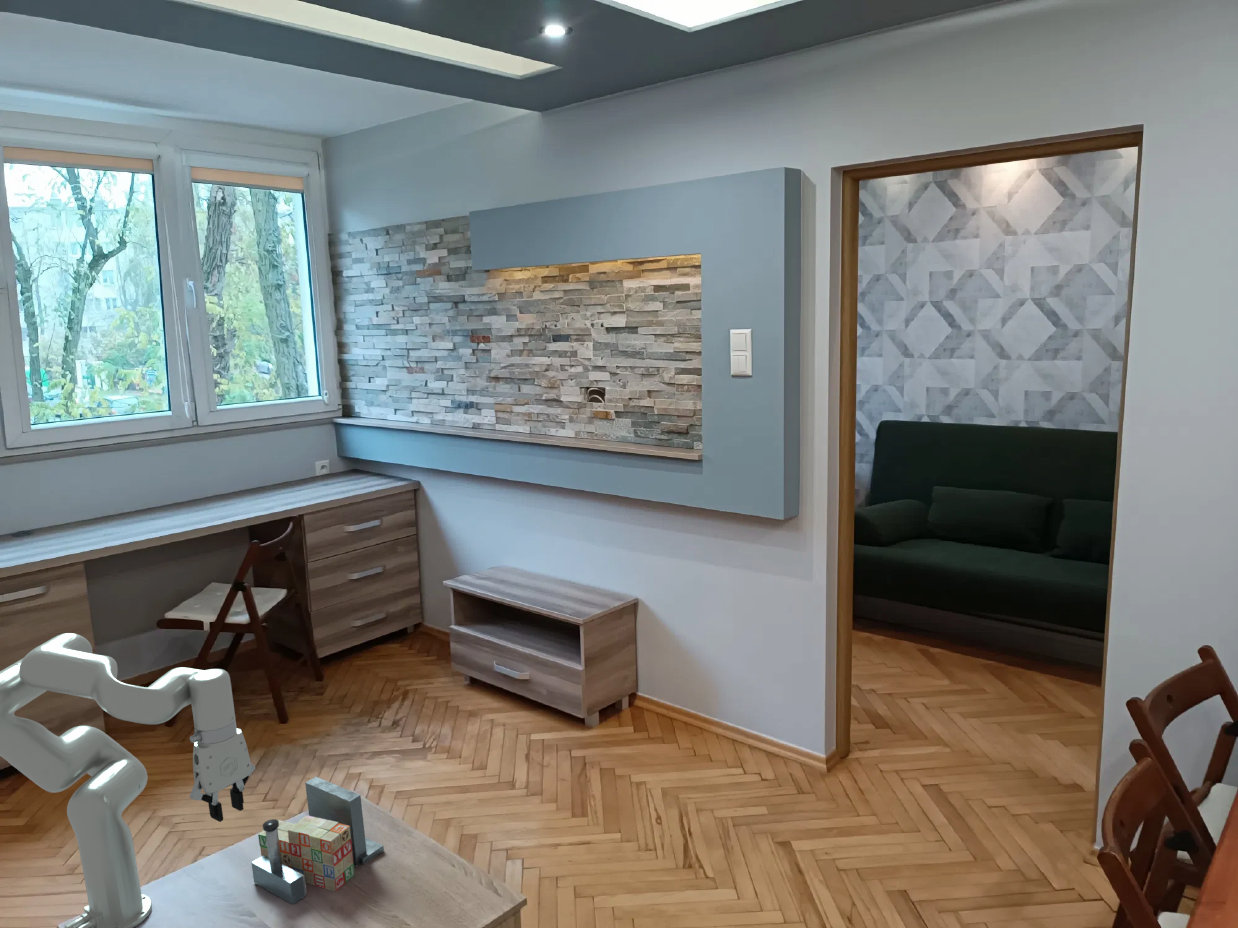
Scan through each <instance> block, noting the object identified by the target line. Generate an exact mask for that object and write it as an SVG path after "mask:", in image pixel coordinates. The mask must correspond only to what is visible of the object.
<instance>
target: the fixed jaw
mask: <svg viewBox="0 0 1238 928" xmlns="http://www.w3.org/2000/svg"><path fill="white" fill-rule="evenodd" d="M304 784H305V791H306V800H307V808H308V816H312V817H316V818H321V819H326V820H331V821H335V822H338V823H340V824H344V825H348V826H350V834H351V842H352V855H353V864H354V867H355V866H356V867H358V866H359V865H361V866H364V865H366V864H367V863H369V862H370V861H372V860H373V859H375V858H377V857H378V856H379V855H380V854H383V853H384V852H385V849H384V847H385V846H384V845H383V844H381V843H379V842H377V841H375V840H373V839H370V838H368V837H366V835H365V834H366V833H365V824H364V823H365V822H364V816H363V815H364V814H363V807H362V806H363V805H362V798H361V794H359V793H356V792H354V791H352V790H349V789H346V788H345V787H342V786H340V785H337V784H335V783H332V782H330V781H328V780H326V779H322V778H321V777H318V776H314V777H313V778H311V779H309V780H307V781H306V782H304Z"/></svg>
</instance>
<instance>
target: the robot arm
mask: <svg viewBox="0 0 1238 928" xmlns="http://www.w3.org/2000/svg"><path fill="white" fill-rule="evenodd" d="M230 676H231V675H230V674H229V672H228V671H226V670H225V669H222V668H210V669H205V670H204V669H198V668H193V667H192V668H191V667H182V666H181V667H179V666H178V667H175V668H172V669H170V670H169V671H167V672H166V673H164V674H163V675H162V676H159V678H158V679H157V680H155V681H154V682H153V683H151V684H150V685H149V686H148V687H147V686H145V687H144V686H140V685H134V684H128V683H126V682H125V683H124V682H122V681H120V680H118V679H117V678H118V663H117V662H116V659H114V658H113V657H111V656H109V655H101V654H98V653H93V647H92V644H91V642H90V641H89V640H88V639H87V638H86V637H84V636H82V635H81V634H77V633H72V632H66V633H61V634H58V635H56V636H54V637H52V638H51V639H49V640H47V641H46V642H43V643H42V644H40V645H38V646H36V647H35V648H33V649H32V650H31V651H29V652H28V653H27V654H25V656H24V657H23V658H21V659H19V660H18V661H15V662H14V663H13V664H11V665H9V666H7V667H6V668H3V669H2V670H0V757H1V758H3V759H4V760H5V761H7V762H8V763H9V764H10V765H11V766H12V767H14V768H15V769H17V771H18V772H20V773H22V775H24V776H25V777H26V778H27V779H29V780H30V781H32V782H33V783H34V784H35V785H37V786H38V787H40V788H41V789H43V790H44V791H46V792H48V793H52V794H53V793H60V792H63V791H65V790H67V789H69V788H70V787H72V786H73V785H74V784H75V783H76V782H78V781H79V780H80V779H81V778H82V777H84V776H85V775H86V774H87V775H88V776H90V777H89V778H88V779H87V780H86V781H84V783H82V784H81V785H80V786H79V787H78V788H77V789H76V790H75V792H74V793H72V796H71V797H70V799H69V800H68V803H67V807H66V814H67V819H68V821H69V824H70V826H71V827H72V831H73V832H74V835H75V838H76V843H77V846H78V851H79V857H80V861H81V866H82V873H83V878H84V884H85V891H86V896H87V903H88V905H86V906H84V907H83V911H84V913H82V914H80V917H78V918H77V919H75V920H72V921H70V922H68V923H66V924H65V925H64V928H135V927H137V926H138V925H140V924H141V923H143V921H145V920H146V919H147V918H148V916H149V915H150V913H151V911H152V908H153V906H152V900H151V898H150V897H149V896H148V895H145V894H142V889H141V883H140V876H139V871H138V870H139V869H138V864H137V857H136V852H135V846H134V845H135V844H134V841H133V835H132V834H133V833H132V830H131V828H130V826H129V825H128V824H127V823H126V822H125V820H124V818H123V817H122V816H123V812H124V810H125V809H127V807H128V806H130V804H131V803H132V802H133V801H135V800H136V798H138V796H139V795H141V793H142V792H143V791H144V789H145V788H146V787H147V783H148V779H149V778H148V772H147V769H146V767H145V766H144V764H143V763H142V762H141V761H140V760H139V759H138V758H137V757H136V756H134V755H133V754H132V753H131V752H130V751H128V750H127V749H126V748H125V747H123V745H121V744H120V743H118V742H117V741H115V739H113V738H112V737H111V736H109V735H108V734H106V732H104V731H102V730H101V729H99V728H97V727H93V726H90V725H79V726H73V727H72V728H69V729H68V730H66V731H64V732H63V733H62V734H61V735H59V736H58V735H56V734H54V733H53V732H52V731H50V730H49V729H48V728H47V727H45V726H44V725H43V724H41V723H39V722H37V721H35V720H33V719H30V718H26V717H21V716H17V715H15V712H16V711H18V710H20V709H21V708H23V707H24V706H26V705H27V704H29V703H30V702H32V701H33V700H35V699H37V698H38V697H39V696H41V695H42V694H44V693H46V692H47V691H49V692H53V693H59V694H66V695H71V696H75V697H80V698H81V697H82V698H86V699H91V700H94V701H95V702H96V704H98V706H99V707H100V708H101V709H102V710H103V711H105V712H106V713H107V714H108V715H110V716H111V717H114V718H116V719H118V720H122V721H127V722H132V723H136V724H142V725H143V724H144V725H160V724H164V723H166V722H168V721H169V720H171V719H172V718H173V717H175V716H176V715H177V714H178V713H179V712H180V711H181V710H182V709H183V708H186V707H187V706H189V705H191V710H192V716H193V723H194V724H193V726H194V729H193V731H194V734H193V735H190V736H189V741H190V742H191V743H192V744H193V752H192V769H193V770H192V774H193V780H194V784H193V787H192V789H191V791H190V794H189V799H191V800H193V801H201V802H202V801H203V802H205V803H208V810H209V811H208V812H209V816H210V818H211V819H214V820H215V821H218V822H219V823H221V822H223V821H224V814H223V807H222V802H221V801H219V792H220V791H222V790H224V789H225V788H228V787H229V786H231V788H230V790H229V794H230V802H231V807H232V808H234V809H235V810H237V811H239V812H241V811H243V810H244V803H245V801H244V795H243V794H244V793H243V791H245V788H246V787H245V786H246V783H247V782H248V780H249V778H250V776H251V775H252V774H253V772H254V771H255V770H256V766H255V765H254V764H253V763H252V762H251V759H250V758H251V757H250V754H249V750H248V749H249V748H248V745H247V742H246V739H245V736H244V734H243V731H242V729H241V728H237V722H236V721H237V720H236V713H235V712H236V711H235V706H234V697H233V691H232V690H233V689H232V682H231V677H230ZM202 790H203V792H202Z"/></svg>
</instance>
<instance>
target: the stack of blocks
mask: <svg viewBox="0 0 1238 928" xmlns="http://www.w3.org/2000/svg"><path fill="white" fill-rule="evenodd" d="M277 820H278V821H279V827H278V828H277V829H278V837H279V845H280V853H281V860H282V864H283V865H285V866H287V867H289V868H291V869H293V870H295V871H297V872H299V873H301V874H303V875H304V876H305V883H307V884H309V885H314V886H316V887H319V888H322V889H327V890H329V891H332V892H337V891H338V890H340V889H341V888H342V887H343V886H344V885H345V884H346V883H347V882H348V881H349V880H351V879H352V878H353V877H354V876H355V865H354V864H353V855H352V842H351V834H350V826H348V825H344V824H340V823H338V822H335V821H331V820H326V819H321V818H316V817H312V816H309V814H308V815H305V816H304V817H303V818H300V820H298V821H297V822H296V823H293V822H287V821H285V820H280V819H277ZM257 835H258V843H259V846H260V847H259V848H260V854H261V856H263V855H264V856H265V855H266V856H268V857H269V854H268V847H267V839H266V831H264V830H262V831H260V832H259V833H258V834H257ZM261 856H260V857H261Z"/></svg>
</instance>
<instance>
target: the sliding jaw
mask: <svg viewBox="0 0 1238 928" xmlns="http://www.w3.org/2000/svg"><path fill="white" fill-rule="evenodd" d="M278 820H279V819H276V818H275V819H274V818H272V819H268V820H267V821H265V822H263V823H262V829H263V830H264V831H266V839H267V847H268V854H269V857H268V856H266V855H265V856H264V855H263V856H260V857H257V858H256V859H255V860H253V861H251V871H252V876H253V877H252V878H253V883H254V884H255V885H257V886H259V887H260V888H261V887H262V888H263V889H264V890H266V891H268V892H270V893H272V894H274V895H275V896H277V897H279V898H280V899H282V900H285V901H286V902H288V903H290V904H291V905H295V904H296V903H297V902H299V901H301V900H302V899H304V898H305V897H306V895H307V894H308V892H307V885H306V882H305V876H304V875H303V874H301V873H299V872H297V871H295V870H293V869H291V868H289V867H287V866H285V865H283V864H282V860H281V853H280V845H279V837H278V829H277V828H278V827H279V821H278ZM263 830H262V831H263Z"/></svg>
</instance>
